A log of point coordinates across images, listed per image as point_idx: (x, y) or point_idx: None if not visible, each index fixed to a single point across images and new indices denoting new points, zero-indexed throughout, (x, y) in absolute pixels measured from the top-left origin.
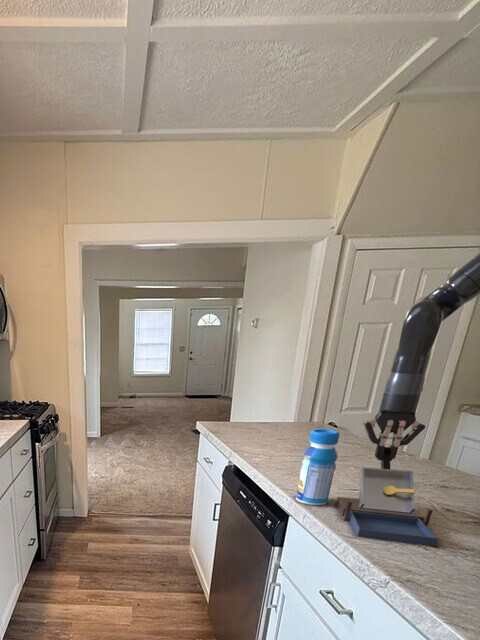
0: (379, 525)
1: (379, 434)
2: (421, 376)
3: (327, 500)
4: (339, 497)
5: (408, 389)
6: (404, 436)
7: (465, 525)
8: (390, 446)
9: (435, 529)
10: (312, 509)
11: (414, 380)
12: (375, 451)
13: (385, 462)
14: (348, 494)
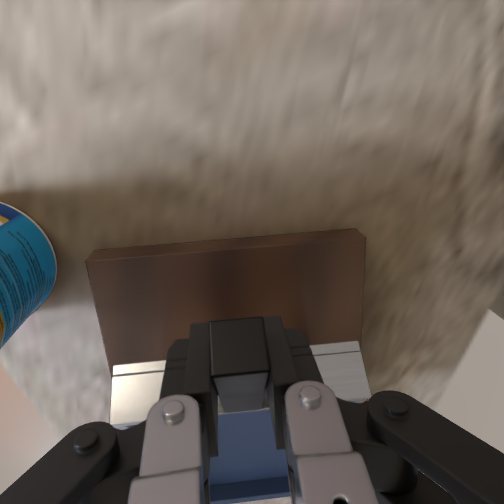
0: (223, 415)
1: (135, 487)
2: None
3: (52, 281)
4: (93, 265)
5: None
6: (419, 459)
7: (482, 296)
8: (273, 396)
9: (377, 364)
10: (17, 349)
11: None
12: (165, 366)
13: (235, 404)
14: (145, 83)
